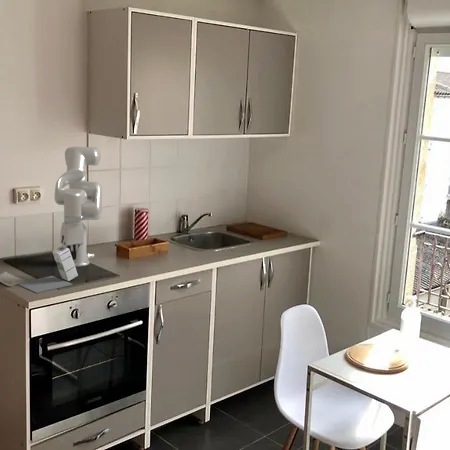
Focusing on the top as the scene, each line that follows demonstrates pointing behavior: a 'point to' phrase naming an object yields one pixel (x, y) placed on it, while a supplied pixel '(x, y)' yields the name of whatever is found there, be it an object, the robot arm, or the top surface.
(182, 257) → the top surface
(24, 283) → the mat
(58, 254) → the syrup box
